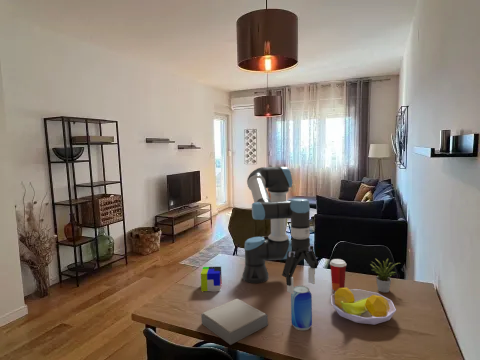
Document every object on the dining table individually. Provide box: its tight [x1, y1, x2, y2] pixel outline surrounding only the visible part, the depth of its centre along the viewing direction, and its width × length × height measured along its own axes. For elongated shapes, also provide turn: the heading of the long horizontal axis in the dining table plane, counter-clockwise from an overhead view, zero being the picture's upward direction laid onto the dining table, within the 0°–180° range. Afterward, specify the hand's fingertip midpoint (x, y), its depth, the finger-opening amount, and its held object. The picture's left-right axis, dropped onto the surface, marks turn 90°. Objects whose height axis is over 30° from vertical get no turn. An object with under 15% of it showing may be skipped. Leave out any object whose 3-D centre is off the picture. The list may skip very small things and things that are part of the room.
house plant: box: [369, 258, 401, 293], centre depth 159 cm, size 14×14×16 cm
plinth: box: [200, 298, 269, 346], centre depth 132 cm, size 20×20×5 cm
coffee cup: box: [329, 258, 347, 292], centre depth 162 cm, size 8×8×15 cm
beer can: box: [290, 285, 313, 331], centre depth 129 cm, size 8×8×16 cm
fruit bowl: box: [330, 287, 397, 326], centre depth 136 cm, size 28×27×11 cm
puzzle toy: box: [200, 266, 223, 292], centre depth 169 cm, size 10×10×10 cm
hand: (301, 287), depth 128 cm, fingers open, 13 cm apart
